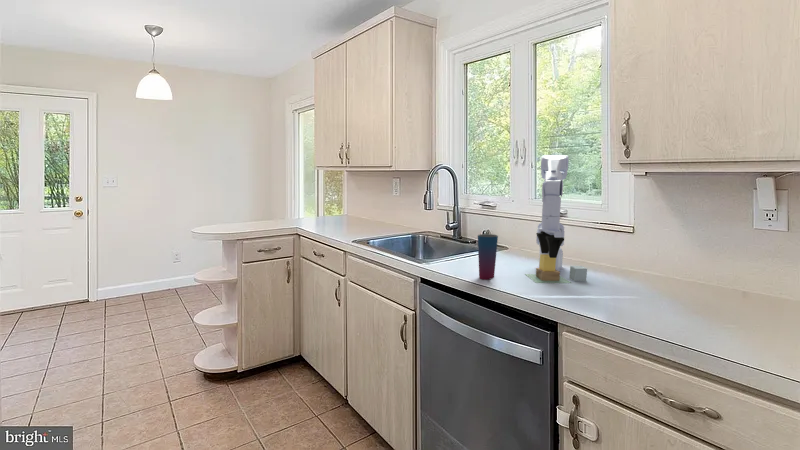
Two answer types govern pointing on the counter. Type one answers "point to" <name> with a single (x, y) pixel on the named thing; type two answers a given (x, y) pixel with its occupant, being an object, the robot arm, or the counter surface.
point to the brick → (578, 273)
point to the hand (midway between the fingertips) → (548, 255)
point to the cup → (487, 255)
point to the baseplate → (537, 280)
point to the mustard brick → (547, 263)
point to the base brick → (548, 275)
